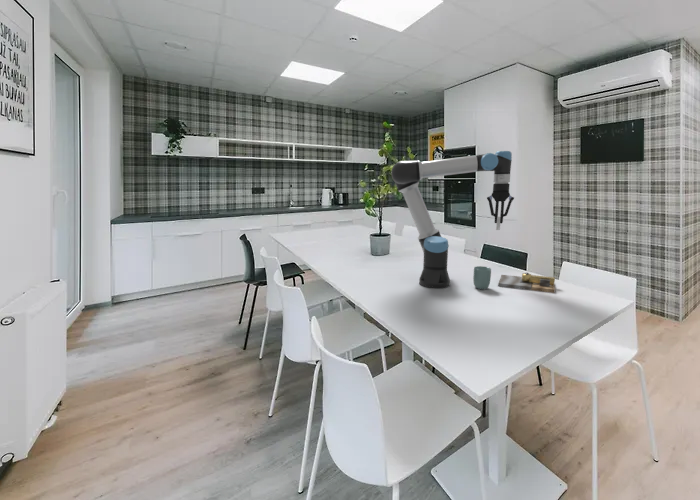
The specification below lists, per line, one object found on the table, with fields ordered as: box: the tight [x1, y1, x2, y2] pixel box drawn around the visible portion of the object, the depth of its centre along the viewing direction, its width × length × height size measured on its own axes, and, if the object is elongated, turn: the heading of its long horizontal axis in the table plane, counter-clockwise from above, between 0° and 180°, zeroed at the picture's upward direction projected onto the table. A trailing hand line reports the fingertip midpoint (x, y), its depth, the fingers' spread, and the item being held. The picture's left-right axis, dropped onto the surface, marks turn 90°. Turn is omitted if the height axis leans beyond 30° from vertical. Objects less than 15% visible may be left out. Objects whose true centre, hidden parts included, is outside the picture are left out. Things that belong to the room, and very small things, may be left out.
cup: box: [473, 265, 492, 290], centre depth 168 cm, size 8×8×10 cm
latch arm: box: [521, 272, 556, 286], centre depth 170 cm, size 14×4×4 cm, turn 63°
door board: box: [497, 274, 556, 294], centre depth 173 cm, size 24×18×5 cm
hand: (498, 229), depth 179 cm, fingers closed
